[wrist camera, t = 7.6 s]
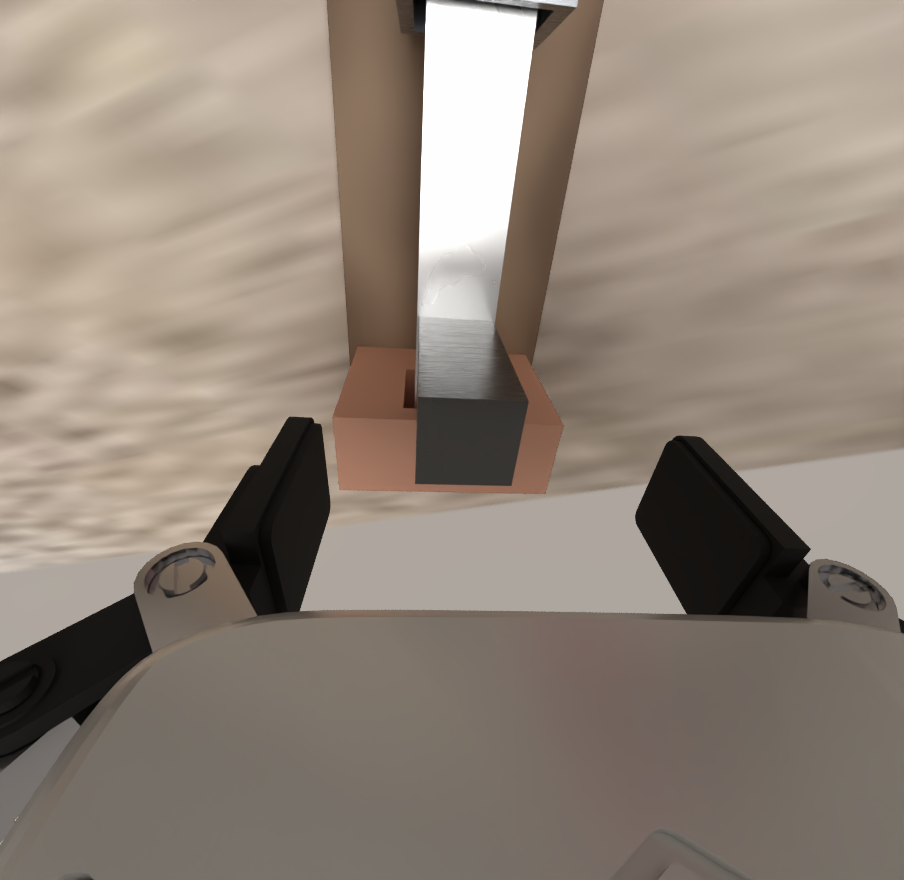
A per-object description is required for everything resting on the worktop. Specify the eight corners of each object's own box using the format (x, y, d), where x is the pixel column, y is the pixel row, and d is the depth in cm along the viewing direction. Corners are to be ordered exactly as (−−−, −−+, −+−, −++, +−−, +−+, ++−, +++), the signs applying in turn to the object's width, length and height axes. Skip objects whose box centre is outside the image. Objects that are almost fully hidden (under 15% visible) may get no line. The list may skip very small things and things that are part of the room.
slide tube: (533, -104, 13) (746, -615, 4) (470, 420, 23) (498, 564, 15) (430, -121, 12) (447, -706, 4) (414, 418, 23) (409, 564, 15)
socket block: (525, 354, 25) (563, 425, 18) (514, 412, 27) (545, 493, 20) (357, 346, 24) (332, 417, 17) (360, 406, 26) (339, 489, 19)
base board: (684, -482, 12) (713, -556, 11) (517, 401, 28) (522, 412, 27) (298, -581, 11) (283, -675, 10) (355, 395, 27) (352, 406, 26)
